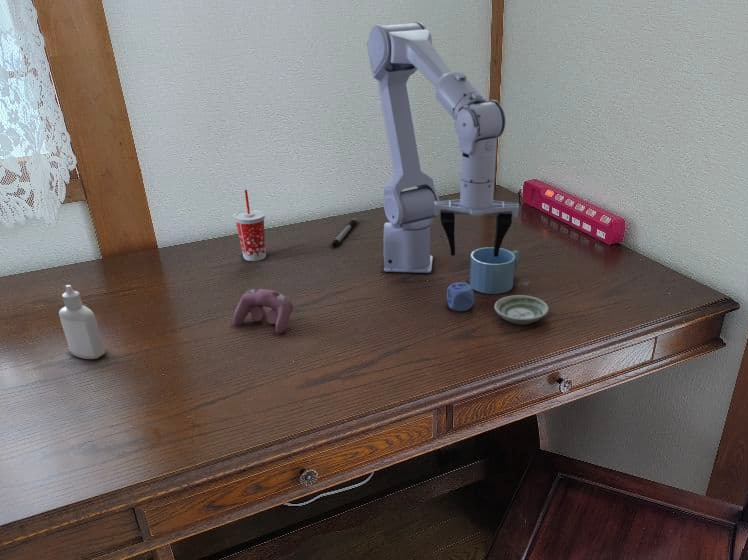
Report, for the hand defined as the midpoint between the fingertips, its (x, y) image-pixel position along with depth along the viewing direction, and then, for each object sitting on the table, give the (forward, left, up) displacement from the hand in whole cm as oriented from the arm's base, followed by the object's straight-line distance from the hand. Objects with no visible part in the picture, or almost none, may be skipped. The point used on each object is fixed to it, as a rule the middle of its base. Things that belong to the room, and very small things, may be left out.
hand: (474, 253), depth 131 cm
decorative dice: (-2, -2, -10) cm, 10 cm away
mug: (+5, +9, -10) cm, 14 cm away
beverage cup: (-45, +18, -10) cm, 50 cm away
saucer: (+9, -6, -10) cm, 14 cm away
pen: (-28, +32, -10) cm, 44 cm away
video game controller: (-36, -11, -10) cm, 39 cm away
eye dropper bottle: (-62, -23, -10) cm, 67 cm away
